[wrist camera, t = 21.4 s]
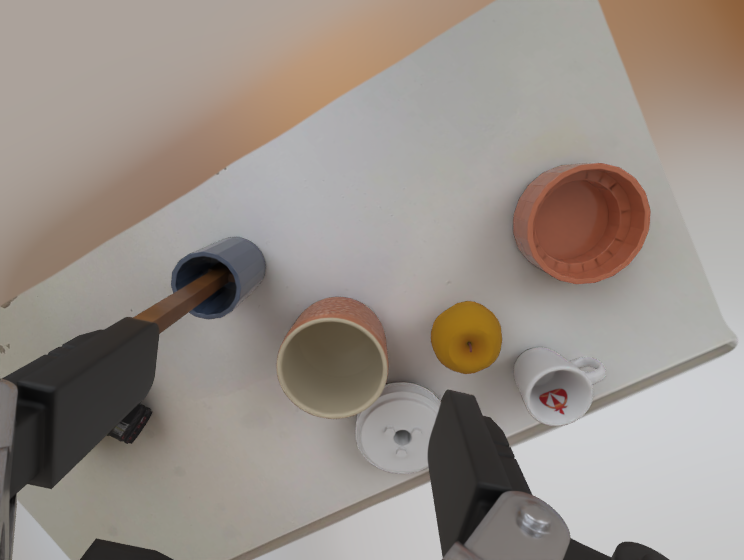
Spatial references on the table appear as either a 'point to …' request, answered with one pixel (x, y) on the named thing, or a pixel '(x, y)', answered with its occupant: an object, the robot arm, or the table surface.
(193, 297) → the stick
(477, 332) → the apple
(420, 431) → the white thick round disc
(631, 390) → the table surface
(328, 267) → the table surface
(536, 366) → the cup
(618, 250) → the bowl
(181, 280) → the crock
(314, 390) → the planter
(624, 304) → the table surface
